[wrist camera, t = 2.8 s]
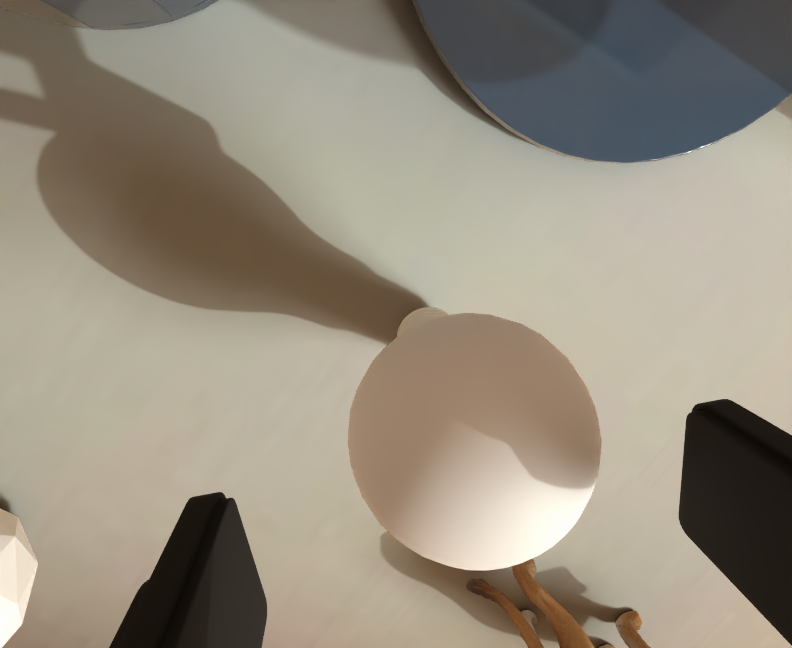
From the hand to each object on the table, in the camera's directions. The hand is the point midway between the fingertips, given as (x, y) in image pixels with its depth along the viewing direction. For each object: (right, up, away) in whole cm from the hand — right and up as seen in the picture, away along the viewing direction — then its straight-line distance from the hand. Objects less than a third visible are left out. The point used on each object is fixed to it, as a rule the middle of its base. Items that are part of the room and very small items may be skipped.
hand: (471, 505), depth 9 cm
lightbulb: (0, +3, +10) cm, 11 cm away
